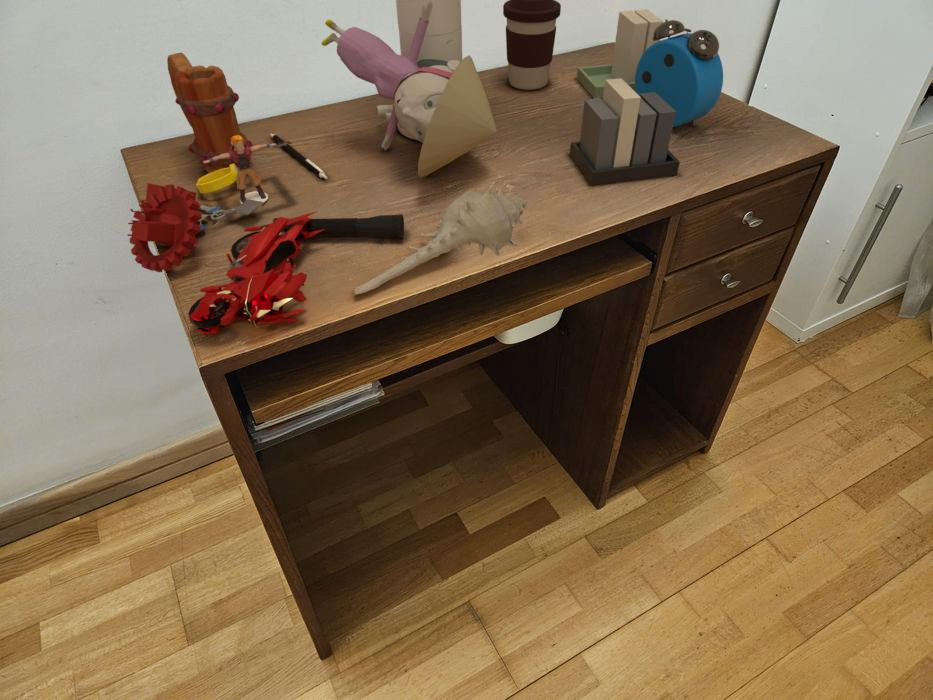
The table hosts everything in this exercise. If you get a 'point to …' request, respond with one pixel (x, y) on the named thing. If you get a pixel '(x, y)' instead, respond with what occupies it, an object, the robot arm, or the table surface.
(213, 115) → the mug
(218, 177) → the yellow curved hollow piece
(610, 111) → the grey books
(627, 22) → the white books
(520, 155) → the table surface
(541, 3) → the coffee cup
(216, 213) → the key chain
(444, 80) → the figurine
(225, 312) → the toy motorcycle
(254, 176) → the action figure
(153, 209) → the red toothed ring
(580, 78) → the green tray
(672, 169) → the grey tray
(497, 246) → the seashell
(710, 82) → the alarm clock
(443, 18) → the robot arm
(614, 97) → the white box
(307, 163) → the pen
